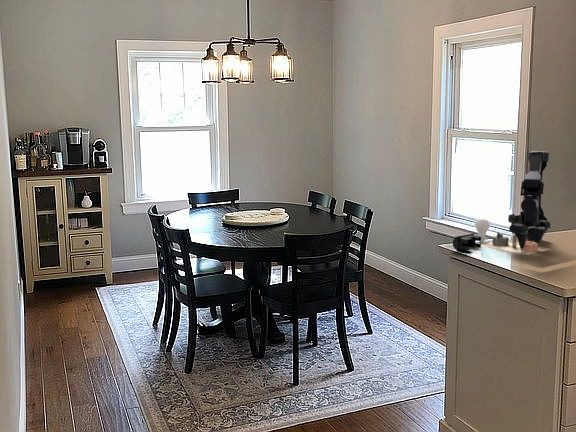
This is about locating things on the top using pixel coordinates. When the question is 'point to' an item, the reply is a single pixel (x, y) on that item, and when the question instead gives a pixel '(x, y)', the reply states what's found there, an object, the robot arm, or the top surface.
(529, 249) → the loose gear
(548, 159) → the robot arm
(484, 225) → the lightbulb
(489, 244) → the gear board
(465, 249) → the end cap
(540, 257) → the top surface
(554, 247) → the top surface
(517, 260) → the top surface
